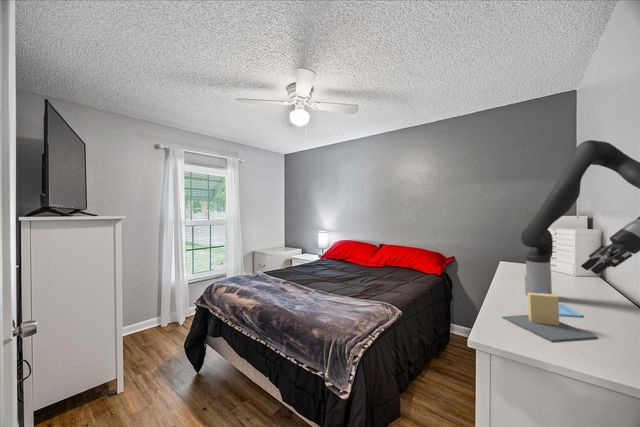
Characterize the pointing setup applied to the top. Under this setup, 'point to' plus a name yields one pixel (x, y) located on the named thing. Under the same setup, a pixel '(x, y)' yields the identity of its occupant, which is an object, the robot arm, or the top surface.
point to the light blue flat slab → (568, 311)
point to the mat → (550, 329)
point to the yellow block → (543, 308)
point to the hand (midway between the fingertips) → (588, 270)
